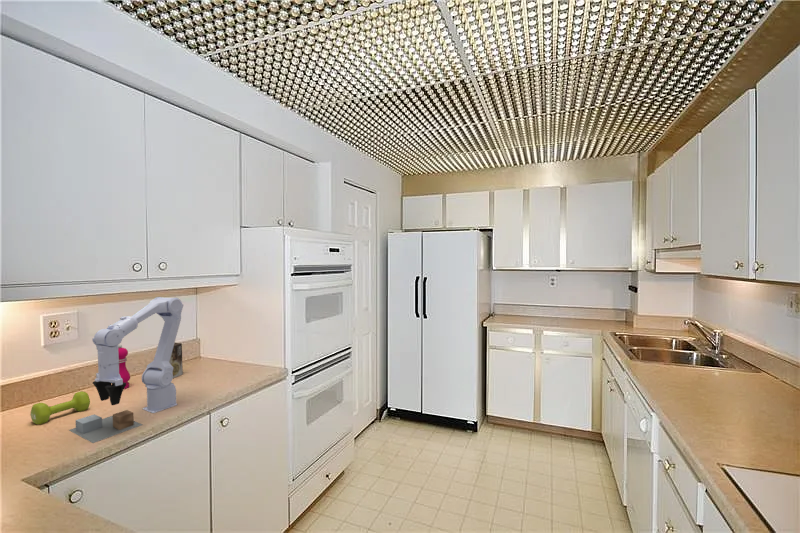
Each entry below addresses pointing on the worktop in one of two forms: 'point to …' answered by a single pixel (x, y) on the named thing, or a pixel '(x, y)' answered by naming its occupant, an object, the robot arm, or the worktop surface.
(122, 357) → the pepper mill
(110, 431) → the mat
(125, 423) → the walnut block
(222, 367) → the worktop surface
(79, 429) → the base block
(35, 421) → the dumbbell
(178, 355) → the coffee box
